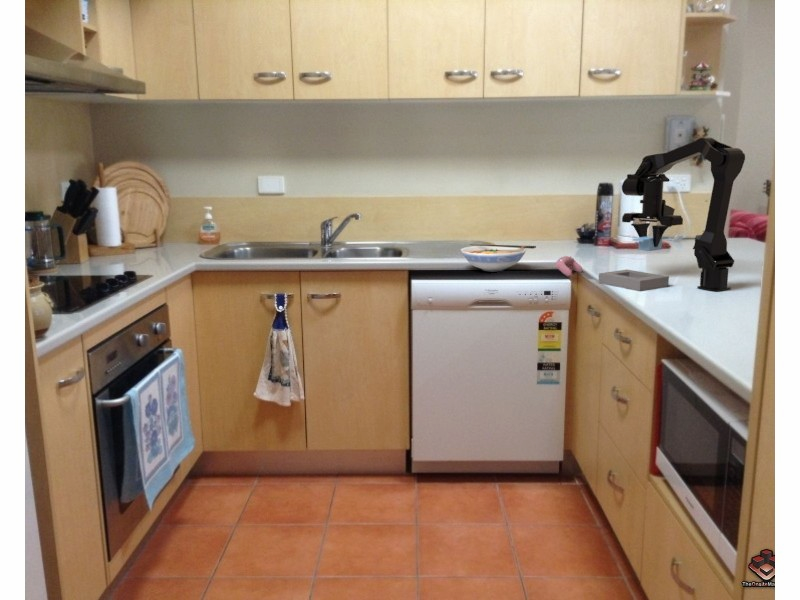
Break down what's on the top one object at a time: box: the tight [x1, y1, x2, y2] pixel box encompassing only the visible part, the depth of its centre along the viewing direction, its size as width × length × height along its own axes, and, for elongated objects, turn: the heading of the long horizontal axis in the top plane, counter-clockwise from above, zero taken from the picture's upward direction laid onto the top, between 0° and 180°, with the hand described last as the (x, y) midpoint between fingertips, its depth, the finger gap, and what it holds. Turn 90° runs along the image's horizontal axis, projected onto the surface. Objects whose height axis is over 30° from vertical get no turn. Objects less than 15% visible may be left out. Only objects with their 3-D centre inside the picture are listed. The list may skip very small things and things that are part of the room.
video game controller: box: [555, 255, 583, 277], centre depth 222 cm, size 10×5×7 cm, turn 141°
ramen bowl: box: [460, 243, 537, 273], centre depth 232 cm, size 25×23×8 cm
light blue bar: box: [632, 235, 669, 252], centre depth 210 cm, size 4×12×4 cm, turn 122°
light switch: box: [598, 269, 670, 292], centre depth 200 cm, size 16×12×3 cm
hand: (650, 246), depth 210 cm, fingers closed on light blue bar, 4 cm apart
